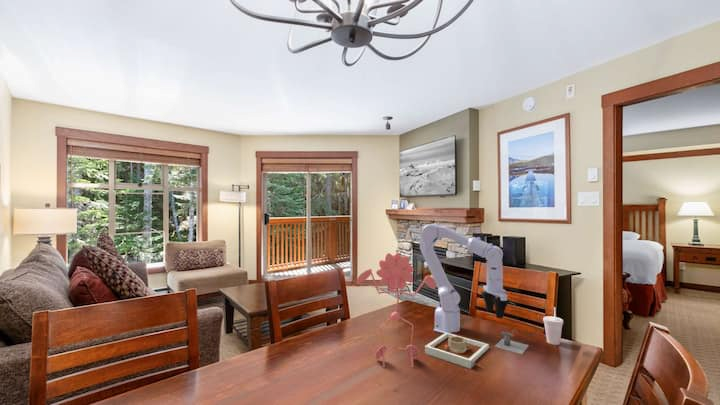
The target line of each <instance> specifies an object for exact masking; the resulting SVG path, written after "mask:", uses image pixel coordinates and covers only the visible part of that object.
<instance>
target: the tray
mask: <svg viewBox="0 0 720 405" xmlns="http://www.w3.org/2000/svg"><path fill="white" fill-rule="evenodd" d="M452 336H458V337H462V338H464V339H465V340H466V341H467V345H472V346H476V347H479V349H478V350H477V351H475V352H474V353H473V354H472V355H471V356H470V357H464V356H462V355H458V354H457V353H452V352H448V351H447V350H442V349H439V348H436V346H437V345H439V344H440V343H441V342H443V341H445V340H446V339H448V338H450V337H452ZM488 349H490V345H489V343H485V342H482V341H478V340H476V339H472V338H468V337H464V336H461V335H456V334H453V333H445V334H444V333H442V334H441V335H440V336H438V337H437V338H435V339H433V341H431V342H429V343H427V344H426V345H424V354H425V355H428V356H431V357H434V358H437V359H440V360H442V361H446V362H449V363H452V364H455V365H457V366H461V367H464V368H467V369H472V368H473V367H474V366H475V365H476V364H477V360H478V359H479V358H480V357H481V356H482V355H483V354H484V353H485V352H487V351H488Z"/></svg>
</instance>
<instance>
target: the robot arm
mask: <svg viewBox="0 0 720 405" xmlns="http://www.w3.org/2000/svg"><path fill="white" fill-rule="evenodd" d="M419 235H420V236H419V237H420V240H419V249H420V252H421V254H422V256H423V258H424V261H425V263H426V265H427V268H428V269H429V271H430V274H431V276H432V278H433V279H434V280H435V281H436V288H437V290H438V293H437V294H438V298H439V301H440V302H439V304H440V306H438V307H437V308H435V311H434V328H433V331H434V332H438V333H441V334H445V333H450V334H452V333H457V332H460V330H461V309H460V307H459V304H460V302H461V296H460V294H459V292H458V291H456V289H455V287H454V286H453V285H452V284H451V283H450V281H449V279H448V277H447V274H446V272H445V270H444V268H443V266H442V264H441V262H440V259H439V256H438V255H437V252H436V251H435V249H434V247H435V244H436V242H437V240H438V239H444V238H446V239H449V240H452V241H454V242H457V243H459V244H461V245H464V246H466V250H467V251H469V252H471V253H474V255H477V256H479V257H481V258H485V259H486V285H485V284H484V285H483V291H481V294H480V295H481V296H482V299H483V300H484V305H485V307H486V308H485V309H486V311H487V312H494V311H495V317H496V319H503V318H504V314H505V311H506V308H507V306H508V305H509V304H510V300H509V299H508V295H507V294H506V289H504V286H503V285H504V282H503V281H504V280H503V279H504V266H503V256H504V252H503V250H502V248H501V247H499V246H497V245H493V243H491V242H490V243H489V242H486V241H484V240H481V237H479V236H477V237H475V236H473V237H471V238H469V237H467V236H465V235H463V234H461V233H459V232H457V231H455V230H453V229H451V228H449V227H447V226H444V225H442V224H439V223H436V222H434V223H431V224H429V223H428V224H425V225H423V227H422V229H421V230H420V233H419ZM496 297H497V298H496ZM494 309H495V310H494Z"/></svg>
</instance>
